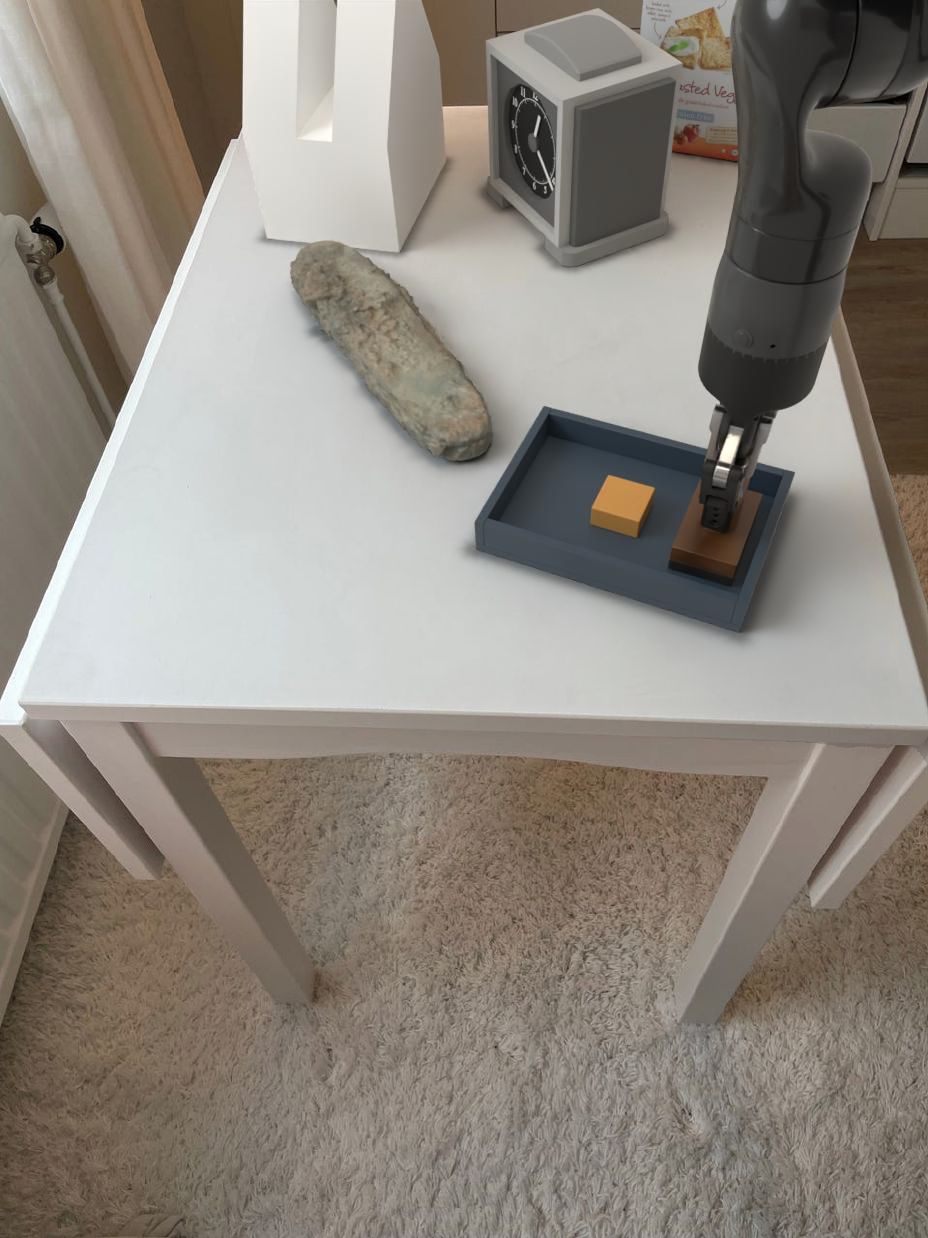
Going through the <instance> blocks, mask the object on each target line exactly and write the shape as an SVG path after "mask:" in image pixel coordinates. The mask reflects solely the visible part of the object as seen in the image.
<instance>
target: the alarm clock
mask: <svg viewBox="0 0 928 1238" xmlns="http://www.w3.org/2000/svg"><path fill="white" fill-rule="evenodd" d="M485 53H486V54H485V57H486V58H485V62H486V89H487V90H486V92H487V94H486V95H487V126H488V127H487V128H488V157H489V159H488V160H489V175H488V176H487V178H486V183H487V184H486V188H487V192H486V193H487V195H488V196H489V197H490V198H491V199H492V200H493V201H494V202H495V203H496V204H497V205H498V206H499V207H500V208H501V209H504V208H508V207H511V206H513V207H514V208H515V209H516V210H517V211H518V212H519V213H520V214H521V215H523V216H524V217H525V218H526V219H527V220H528V221H529V222H530V223H531V224H532V225H533V226H534V227H535V228H536V229H538V231H540V232H541V233H542V234H543V235H544V250H545V251H546V252H547V253H548V254H549V255H550V256H551V257H552V258H553V259H554V260H556V262H557V263H558V264H560V265H561V266H563V267H566V268H576V267H579V266H582V265H585V264H587V263H590V262H593V261H596V260H599V259H601V258H603V257H606V256H610V255H612V254H615V253H618V252H620V251H623V250H626V249H629V248H631V247H634V246H637V245H640V244H642V243H645V242H648V241H650V240H653V239H656V238H659V237H663V236H665V234H666V233H667V231H668V224H669V213H668V212H667V211H666V209H665V208H666V201H667V193H668V184H669V178H670V177H669V176H670V170H671V162H672V161H671V160H672V152H673V151H672V145H673V138H674V130H675V122H676V114H677V106H678V98H679V90H680V82H681V74H682V66H683V63H682V62H680V61H679V60H677V59H676V58H674V57H673V56H671V55H670V54H668V53H667V52H665V51H664V50H662V49H660V48H659V47H657V46H656V45H654V44H653V43H651V42H650V41H648V40H647V39H645V38H644V37H642V36H641V35H640V33H637V32H636V31H635V30H633V29H632V28H630V27H628V26H627V25H626V24H624V23H622V22H621V21H619V20H617V19H616V18H614V17H613V16H611V15H610V14H609V13H607V12H605V11H604V10H603V9H601V8H600V7H597V8H593V9H590V10H586V11H582V12H579V13H575V14H572V15H569V16H566V17H563V18H559V19H555V20H552V21H548V22H545V23H541V24H537V25H534V26H531V27H528V28H523V29H520V30H516V31H514V32H510V33H507V34H503V35H500V36H497V37H492V38H489V39H486V40H485Z"/></svg>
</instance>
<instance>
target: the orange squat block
mask: <svg viewBox="0 0 928 1238" xmlns="http://www.w3.org/2000/svg"><path fill="white" fill-rule="evenodd" d="M654 493H655V488H654V487H650V486H647V485H643V484H639V483H636V482H632V481H629V480H625V479H622V478H618V477H615V476H611V475H608V477H607V479H606V480H605V482H604V484H603V486H602V488H601V490H600V492H599V494H598V496H597V498H596V500H595V502H594V504H593V506H592V509H591V521H590V524H591V525H594V526H598V527H601V528H605V529H608V530H611V531H615V532H618V533H621V534H625V535H628V536H631V537H635V538H637V537H638V535H639V533H640V531H641V529H642V527H643V525H644V522H645V520H646V518H647V516H648V514H649V512H650V509H651V507H652V505H653V499H654Z"/></svg>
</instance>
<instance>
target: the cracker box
mask: <svg viewBox="0 0 928 1238" xmlns="http://www.w3.org/2000/svg"><path fill="white" fill-rule="evenodd" d="M736 1H737V0H642V10H641V17H640V18H641V19H640V20H641V21H640V31H639V35H641V36H642V37H644V38H645V39H647V40H648V41H650V42H651V43H653V44H654V45H656V46H657V47H659V48H660V49H662V50H664V51H665V52H667V53H668V54H670V55H671V56H673V57H674V58H676V59H677V60H679V61H680V62H682V63H683V66H682V74H681V82H680V90H679V98H678V106H677V114H676V122H675V130H674V138H673V145H672V152H676V153H683V154H689V155H695V156H702V157H708V158H714V159H720V160H727V161H733V162H738V138H737V114H736V101H735V92H734V83H733V74H732V65H731V54H730V28H731V20H732V15H733V11H734V7H735V4H736Z"/></svg>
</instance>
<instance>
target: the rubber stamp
mask: <svg viewBox="0 0 928 1238" xmlns="http://www.w3.org/2000/svg"><path fill="white" fill-rule="evenodd" d="M749 457H750V456H748V458H749ZM745 458H747V457H745ZM749 481H750V478H746V479H745V481H744V484H743V488H742V491H743V494H742V497H741V498H740V497H739V500H738V501H739V503H738V506H737V508H736V509H735V513H734V516H733V520H732V524H731V526H730V529H729V531H728V532H726V533H722V532H718V531H715V530H711V529H707V528H704V527H703V526H702V525H701V524H700V520H701V516H702V512H703V507H704V505H703V504H700V503H699V498H698V497H699V494H700V485H701V478H700V481H699V483H698V485H697V488H696V490H695V493H694V495H693V497H692V500H691V502H690V504H689V507H688V509H687V512H686V514H685V516H684V519H683V521H682V523H681V526H680V528H679V531H678V533H677V535H676V538H675V540H674V542H673V545H672V548H671V553H670V558H669V563H668V568H670V569H674V570H677V571H680V572H684V573H687V574H690V575H694V576H697V577H700V578H704V579H707V580H711V581H714V582H717V583H721V584H724V585H727V586H732V583H733V580H734V577H735V575H736V572H737V569H738V566H739V564H740V561H741V558H742V555H743V553H744V550H745V547H746V544H747V542H748V539H749V536H750V533H751V530H752V528H753V525H754V522H755V519H756V517H757V513H758V510H759V507H760V503H761V500H762V496H763V494H761V493H757V492H753V491H750V490H747V488H748V485H749Z"/></svg>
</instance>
